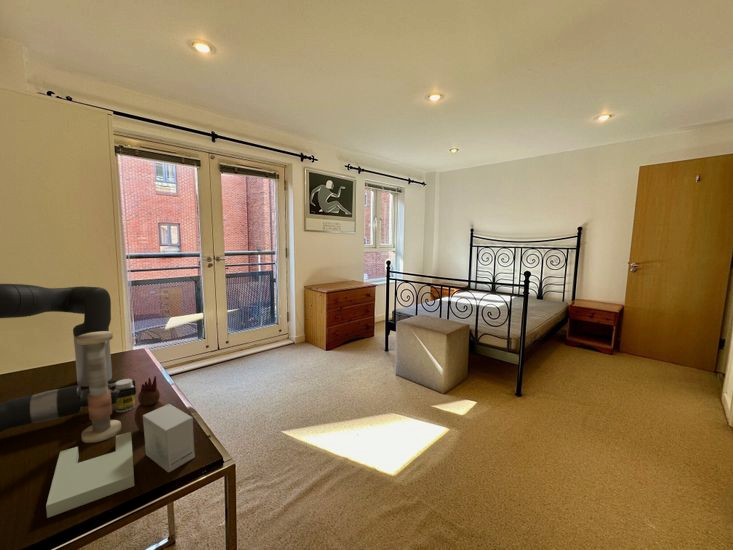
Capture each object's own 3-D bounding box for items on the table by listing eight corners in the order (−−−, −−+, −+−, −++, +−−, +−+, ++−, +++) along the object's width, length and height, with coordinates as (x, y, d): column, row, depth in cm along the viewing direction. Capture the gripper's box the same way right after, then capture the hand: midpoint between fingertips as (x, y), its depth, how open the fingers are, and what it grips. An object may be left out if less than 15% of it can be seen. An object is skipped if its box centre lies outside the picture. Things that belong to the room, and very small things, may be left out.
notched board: (61, 461, 73) (60, 451, 72) (131, 440, 81) (131, 431, 80) (47, 517, 59) (46, 505, 58) (134, 485, 67) (133, 474, 66)
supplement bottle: (124, 413, 92) (122, 386, 91) (111, 411, 93) (109, 384, 92) (139, 405, 97) (137, 379, 96) (126, 403, 98) (124, 377, 97)
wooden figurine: (170, 426, 87) (167, 373, 85) (149, 438, 82) (146, 383, 80) (152, 420, 89) (149, 369, 87) (131, 432, 84) (127, 378, 82)
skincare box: (143, 455, 76) (141, 414, 74) (172, 441, 81) (170, 402, 80) (167, 474, 70) (164, 430, 69) (195, 457, 76) (194, 416, 74)
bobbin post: (83, 430, 84) (74, 333, 81) (121, 420, 89) (115, 328, 86) (80, 447, 78) (71, 342, 74) (121, 435, 83) (114, 337, 79)
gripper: (51, 402, 79) (135, 384, 90) (59, 380, 91) (133, 366, 101) (54, 429, 80) (137, 409, 91) (62, 405, 92) (135, 389, 102)
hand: (135, 386), depth 96 cm, fingers closed on supplement bottle, 4 cm apart
